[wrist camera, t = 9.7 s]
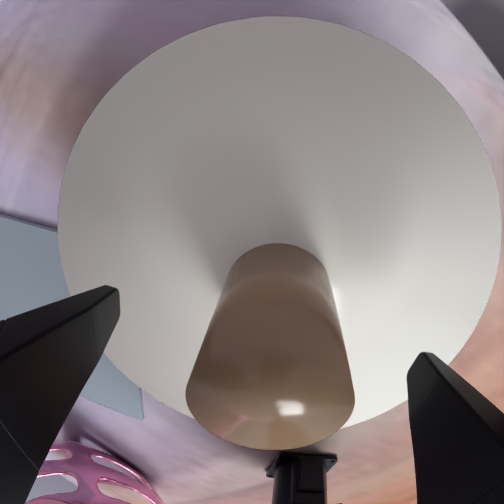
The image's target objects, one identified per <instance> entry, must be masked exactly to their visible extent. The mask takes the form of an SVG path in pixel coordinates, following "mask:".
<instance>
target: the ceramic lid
mask: <svg viewBox="0 0 504 504" xmlns="http://www.w3.org/2000/svg"><path fill="white" fill-rule="evenodd" d="M501 230H502V225H501V211H500V200H499V194H498V189H497V185H496V181H495V177H494V173H493V169H492V166H491V163H490V160H489V158H488V155H487V153H486V150H485V148H484V146H483V143H482V141H481V139H480V137H479V135H478V133H477V131H476V130H475V128H474V126H473V125H472V123H471V121H470V120H469V118H468V116H467V115H466V113H465V112H464V110H463V109H462V107H461V106H460V105H459V104H458V102H457V101H456V100H455V99H454V98H453V96H452V95H451V94H450V93H449V92H448V91H447V89H446V88H445V87H444V86H443V85H442V84H441V83H440V82H439V81H438V80H437V79H436V78H435V77H434V76H433V75H431V74H430V73H429V72H428V71H427V70H426V69H424V68H423V67H422V66H421V65H419V64H418V63H417V62H416V61H415V60H413V59H412V58H411V57H409V56H407V55H406V54H404V53H403V52H401V51H399V50H398V49H396V48H394V47H392V46H391V45H389V44H387V43H385V42H384V41H382V40H380V39H378V38H376V37H373V36H371V35H368V34H366V33H363V32H361V31H358V30H355V29H352V28H350V27H347V26H344V25H341V24H336V23H332V22H327V21H322V20H316V19H311V18H304V17H285V16H262V17H254V18H247V19H240V20H234V21H228V22H223V23H220V24H216V25H213V26H210V27H207V28H204V29H201V30H198V31H195V32H193V33H190V34H187V35H185V36H183V37H181V38H179V39H177V40H175V41H173V42H171V43H169V44H167V45H166V46H164V47H162V48H160V49H158V50H157V51H155V52H153V53H152V54H150V55H149V56H148V57H146V58H145V59H144V60H142V61H141V62H140V63H138V64H137V65H136V66H135V67H133V68H132V69H131V70H130V71H128V72H127V73H126V74H125V75H124V76H123V77H122V78H121V79H120V80H119V81H118V82H117V83H116V84H115V85H114V86H113V87H112V88H111V89H110V90H109V91H108V93H107V94H106V95H105V96H104V97H103V98H102V99H101V101H100V102H99V103H98V105H97V106H96V108H95V109H94V111H93V112H92V114H91V115H90V117H89V118H88V120H87V121H86V123H85V124H84V126H83V128H82V130H81V132H80V134H79V136H78V138H77V140H76V142H75V145H74V147H73V149H72V151H71V153H70V156H69V159H68V163H67V166H66V169H65V173H64V176H63V180H62V184H61V190H60V197H59V204H58V244H59V252H60V259H61V265H62V269H63V273H64V277H65V280H66V284H67V287H68V290H69V293H70V295H71V296H74V295H77V294H79V293H82V292H85V291H88V290H91V289H94V288H97V287H100V286H103V285H109V286H112V287H115V288H117V289H118V290H119V293H120V318H119V320H118V322H117V325H116V327H115V329H114V331H113V333H112V335H111V337H110V339H109V341H108V344H107V346H106V348H105V350H104V354H105V355H106V356H107V357H108V358H109V359H110V360H111V362H112V363H113V364H114V365H115V366H116V367H117V368H118V369H119V370H120V371H121V372H122V373H123V374H124V375H125V376H126V377H128V378H129V379H130V380H131V381H132V382H133V383H134V384H136V385H137V386H138V387H140V388H141V389H142V390H144V391H145V392H146V393H148V394H149V395H150V396H152V397H153V398H155V399H157V400H158V401H160V402H162V403H163V404H165V405H167V406H168V407H170V408H172V409H174V410H176V411H178V412H180V413H182V414H184V415H187V416H189V417H191V418H193V419H196V420H197V421H198V422H199V423H200V424H201V425H202V426H203V427H204V428H205V429H207V430H208V431H209V432H211V433H212V434H214V435H216V436H218V437H220V438H222V439H224V440H226V441H229V442H231V443H234V444H237V445H241V446H244V447H249V448H255V449H263V450H285V449H293V448H299V447H303V446H307V445H311V444H314V443H316V442H319V441H321V440H323V439H325V438H327V437H329V436H331V435H332V434H334V433H335V432H337V431H338V430H339V429H340V428H344V427H348V426H351V425H354V424H357V423H360V422H363V421H366V420H368V419H371V418H373V417H375V416H377V415H380V414H382V413H384V412H386V411H388V410H390V409H392V408H393V407H395V406H397V405H399V404H400V403H402V402H404V401H405V400H407V399H408V391H407V379H406V377H407V372H408V370H409V368H410V367H411V365H412V364H413V362H414V361H415V359H416V357H417V356H418V354H419V353H421V352H431V353H433V354H435V355H436V356H437V357H438V358H440V359H441V360H442V361H443V362H444V363H446V364H447V365H448V364H449V363H450V362H451V361H452V360H453V358H454V357H455V356H456V355H457V354H458V352H459V351H460V350H461V349H462V347H463V346H464V344H465V343H466V341H467V340H468V338H469V337H470V335H471V334H472V332H473V331H474V329H475V327H476V325H477V323H478V321H479V319H480V317H481V315H482V313H483V311H484V309H485V307H486V304H487V302H488V299H489V296H490V293H491V290H492V287H493V284H494V281H495V277H496V272H497V267H498V262H499V257H500V247H501Z"/></svg>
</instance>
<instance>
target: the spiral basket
mask: <svg viewBox="0 0 504 504" xmlns="http://www.w3.org/2000/svg"><path fill="white" fill-rule="evenodd" d="M49 451H65V452H66V459H60V460H45V461H44V463H43V465H42V467H41V469H40V470H39V473H38V475H37V477H41V476H47V475H56V474H66V475H71V476H73V477H75V478H76V480H77V482H78V489H77V490H76V491H74V492H69V493H56V494H50V495H44V496H41V497H38V498H35V499H32V500H30V501H28V502H26V503H25V504H130V503H128V502H125V501H122V500H119V499H115V498H112V497H109V496H106V495H104V494H103V493H101V492H100V490H99V489H98V486H97V483H103V484H110V485H116V486H120V487H124V488H128V489H131V490H134V491H136V492H138V493H139V494H141V495H143V496H144V497H146V498H147V499H148V500H150V501H151V502H152V503H153V504H164V502H163V501H162V499H161V498H160V497H159V495H158V494H157V492H156V491H155V490H154V488H153V487H152V486H151V484H150V483H149V482H148V481H147V480H146V479H145V478H144V477H143V476H142V475H141V474H140V473H139V472H137V471H136V470H135V469H134V468H132V467H131V466H130V465H128V464H127V463H125V462H123V461H122V460H120V459H118V458H116V457H114V456H112V455H110V454H108V453H105V452H103V451H100V450H98V449H95V448H92V447H89V446H86V445H84V444H82V443H80V442H77V441H67V442H54V443H53V445H52V447H51V448H50V450H49ZM91 456H95V457H99V458H102V459H105V460H107V461H110V462H112V463H114V464H116V465H118V466H120V467H122V468H124V469H125V470H127V471H128V472H130V473H131V474H133V475H134V476H135V477H136V478H138V479H139V480H140V481H141V482H142V483H143V484H142V483H140V482H139V481H137V480H136V479H134V478H132V477H130V476H128V475H126V474H124V473H122V472H120V471H117V470H114V469H112V468H109V467H106V466H103V465H100V464H98V463H96V462H94V461H93V460H92V459H91Z"/></svg>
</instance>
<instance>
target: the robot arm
mask: <svg viewBox="0 0 504 504" xmlns="http://www.w3.org/2000/svg"><path fill="white" fill-rule="evenodd" d="M119 318H120V293H119V290H118V289H117V288H115V287H112V286H109V285H103V286H100V287H97V288H94V289H91V290H88V291H85V292H82V293H79V294H77V295H74V296H71V297H68V298H65V299H62V300H59V301H56V302H53V303H50V304H47V305H44V306H41V307H38V308H36V309H33V310H30V311H27V312H24V313H21V314H18V315H15V316H13V317H10V318H7V319H6V320H1V321H0V504H25V502H26V499H27V497H28V495H29V492H30V491H31V488H32V486H33V484H34V482H35V480H36V478H37V475H38V473H39V470H40V469H41V467H42V465H43V463H44V460H45V458H46V456H47V454H48V452H49V450H50V448H51V447H52V445H53V443H54V441H55V439H56V437H57V435H58V433H59V431H60V429H61V427H62V426H63V424H64V422H65V420H66V418H67V416H68V414H69V413H70V411H71V409H72V407H73V405H74V404H75V402H76V400H77V398H78V397H79V395H80V393H81V391H82V390H83V388H84V386H85V384H86V383H87V381H88V379H89V378H90V376H91V374H92V372H93V371H94V369H95V367H96V366H97V364H98V362H99V360H100V359H101V356H102V354H103V352H104V350H105V348H106V346H107V344H108V341H109V339H110V337H111V335H112V333H113V331H114V329H115V327H116V325H117V322H118V320H119ZM406 379H407V391H408V407H409V421H410V429H411V436H412V444H413V453H414V463H415V474H416V488H417V504H504V413H502V412H501V411H500V410H499V409H498V408H497V407H496V406H495V405H493V404H492V403H491V402H490V401H489V400H488V399H487V398H485V397H484V396H483V395H482V394H481V393H480V392H478V391H477V390H476V389H475V388H474V387H473V386H472V385H470V384H469V383H468V382H467V381H466V380H465V379H463V378H462V377H461V376H460V375H459V374H457V373H456V372H455V371H454V370H453V369H452V368H450V367H449V366H448V365H447V364H446V363H444V362H443V361H442V360H441V359H440V358H438V357H437V356H436V355H435V354H433V353H431V352H421V353H419V354H418V356H417V357H416V359H415V361H414V362H413V364H412V365H411V367H410V368H409V370H408V372H407V377H406ZM336 462H337V457H335V456H319V455H306V454H295V453H286V452H281V453H279V454H278V456H277V457H276V459H275V461H274V462H273V464H272V465H271V467H270V468H269V470H268V471H267V474H266V476H267V477H270V478H274V486H273V498H272V504H327V477H326V473H327V472H328V471H329V470H330V468H331V467H332V466H333V465H334V464H335V463H336ZM340 504H342V503H340Z"/></svg>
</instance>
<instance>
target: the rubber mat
mask: <svg viewBox="0 0 504 504" xmlns="http://www.w3.org/2000/svg"><path fill="white" fill-rule="evenodd" d="M68 297H71V295H70V293H69V290H68V287H67V284H66V280H65V277H64V273H63V269H62V265H61V259H60V252H59V244H58V229H54V228H51V227H47V226H43V225H39V224H36V223H32V222H29V221H25V220H21V219H18V218H14V217H11V216H7V215H4V214H0V321H1V320H6V319H7V318H10V317H13V316H15V315H18V314H21V313H24V312H27V311H30V310H33V309H36V308H38V307H41V306H44V305H47V304H50V303H53V302H56V301H59V300H62V299H65V298H68ZM79 396H81V397H83V398H86V399H88V400H90V401H92V402H95V403H97V404H99V405H102V406H104V407H107V408H109V409H112V410H114V411H117V412H119V413H122V414H124V415H127V416H130V417H133V418H135V419H138V420H141V421H143V419H144V412H143V404H142V395H141V388H140V387H138V386H137V385H136V384H134V383H133V382H132V381H131V380H130V379H129V378H128V377H126V376H125V375H124V374H123V373H122V372H121V371H120V370H119V369H118V368H117V367H116V366H115V365H114V364H113V363H112V362H111V360H110V359H109V358H108V357H107V356H106V355H105V354H104V352H103V354H102V356H101V359H100V360H99V362H98V364H97V366H96V367H95V369H94V371H93V372H92V374H91V376H90V378H89V379H88V381H87V383H86V384H85V386H84V388H83V390H82V391H81V393H80V395H79Z"/></svg>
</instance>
